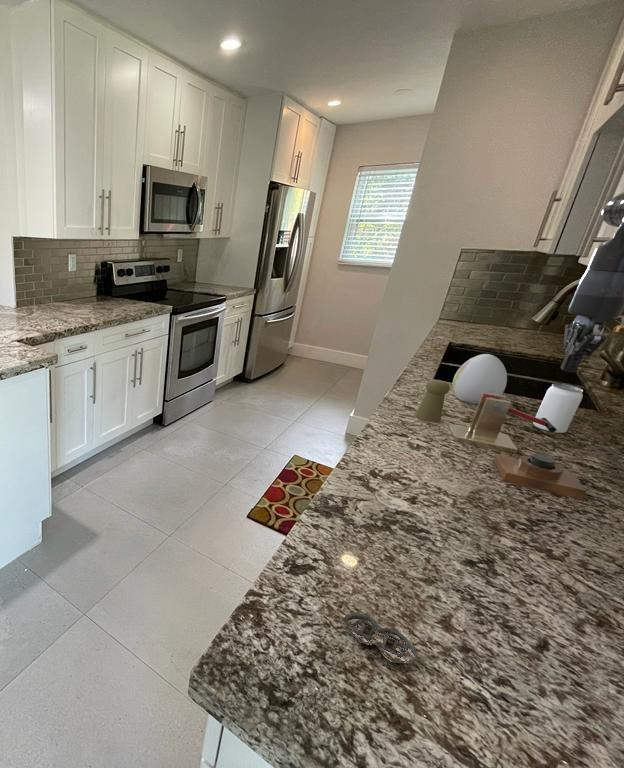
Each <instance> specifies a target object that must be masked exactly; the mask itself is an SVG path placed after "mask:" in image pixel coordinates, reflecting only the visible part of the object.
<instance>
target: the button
mask: <svg viewBox="0 0 624 768" xmlns="http://www.w3.org/2000/svg"><path fill="white" fill-rule="evenodd" d="M530 456H531V458H530V460H529V463H531V464H533V465H535V466H538V467H541V468H545V469H553V467H554V465H555V464H557V460H556V459H554V458H552V457H551V456H548V455H545V454H541V453H532V454H531V455H530Z"/></svg>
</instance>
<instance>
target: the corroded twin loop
mask: <svg viewBox="0 0 624 768" xmlns="http://www.w3.org/2000/svg"><path fill="white" fill-rule="evenodd" d="M352 619H361V620H357V621H356V622H355V623H353V624H352V625H354V626H356V625H357V628H358V627H359V626H358V624H359V625H360V626H362V630H358V629H357V628H356V627H354V629H353V631H354V632H355V633H356V634H357V635H360V636H363V637H364V638H365V639H366V640H367V641H368V640H369V641H370V640H371V638H372V637H371V636H372V635H373V634H375V632H374V628H373V626H375V628H376V630H377V631H378V632H379V633H385V632H386V633H387V632H388V633H391V634H394V635H397V636H398V637H399V638H400V640H399V639H398V638H396V637H394V636H393V635H390V634H385V635H384V636H382V637H383V643H382V648H383V649H384V650H386V651H388V652H391V653H392V654H395V655H397V657H400V658H401V657H403V656H404V654H402V653H400V652H399V651H397V650H396V648H397V646H400V647H401V648H404V651H403V649H401V650H402V651H403V652H406V650H408V648H409V649H410V650H411V652H412V653H413V654H414V659H411V660H409V661H407V662H409V663H407V662H406V663H407V664H412V663H416V662H417V661H418V658H419V655H418V653H417V651H416V649H415V647H414V646H413V644H412V643H411V642H410V641H409V639H408V638H407V637H406V636H405V635H404V634H402V633H401V632H399V630H396V629H395V628H390V627H380V625H379V624H378V622H377V621H376V619H374V618H373V617H372V616H369V615H368V614H366V613H360V612H351V613H349V614H347V615H346V614H345V617H344V623H345V626H346V629H347V630H348V631H349V633H350V632H351V630H350V628H349V625H348V622H347V621H348V620H352ZM363 620H365V621H367V622H368V621H369V622H371V624H372V625H373V626H372V625H371V624H369V623H367V622H365V621H363ZM366 625H368V626H370V627H371V628H372V629H371V628H370V627H369V628H370V631H369V634H366V633H364V629H365V627H366ZM368 626H367V627H368ZM350 634H351V636H352V635H353V636H354V637H355V638H356V639H357V640H359V641H360V642H362V643H363V644H369V645H370V644H374V645H375V646H377V647H378V645H377V642H375V643H369V642H363V641H361V640H360V639H358V638H357V637H356V636H355V634H353V633H352V632H351V633H350ZM376 635H377V634H376ZM353 636H352V637H353ZM378 636H379V634H378ZM380 636H381V635H380ZM388 636H389V637H391V638H393V639H395V640H397V641H398V642H397V641H395V642H394V641H393V644H392V646H393V647H392V648H393V649H394V650H393V649H391V648H390V647H388V646H386V643H387V641H388V638H387V637H388ZM354 637H353V638H354ZM355 638H354V639H355ZM373 639H374V638H373ZM375 640H376V639H375ZM403 640H404V641H403ZM399 641H401V642H402V643H403V644H401V643H399ZM404 642H405V644H404ZM380 643H381V642H380ZM377 647H376V648H377ZM378 649H379V650H380V648H379V647H378ZM378 649H377V650H378ZM405 649H406V650H405ZM380 651H381V650H380ZM396 651H397V652H398V653H400V654H398V653H396ZM381 652H382V653H383V651H381ZM383 654H384V653H383ZM384 655H385V654H384ZM385 656H386V655H385ZM386 657H387V656H386ZM387 658H388V659H390V658H389V657H387ZM390 660H391V661H393V662H398V663H402V662H403V663H404V662H405V661H394V660H392V659H390Z"/></svg>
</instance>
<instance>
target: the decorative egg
mask: <svg viewBox="0 0 624 768" xmlns="http://www.w3.org/2000/svg"><path fill="white" fill-rule="evenodd" d="M507 383H508V375H507V369H506V367H505V365H504V363H503V362H502V361H501V359H499V358H498V357H497V356H495V355H493V354H490V353H483V354H478V355H476V356H474V357H471V358H469V359H468V360H466V361H465V362H464V363H463V364H462V365H461V366H460V367H459V368H458V369H457V370H456V373H455V374H454V375H453V379H452V392H453V394H454V396H455V397H456V399H458V400H460V401H462V402H464V403H468V404H472V405H477V406H478V403H479V401H480V398H481V395H482V393H483V392H485V393H491V394H497V395H503V394H504V392H505V389H506V388H507Z"/></svg>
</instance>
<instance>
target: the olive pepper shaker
mask: <svg viewBox="0 0 624 768" xmlns="http://www.w3.org/2000/svg"><path fill="white" fill-rule="evenodd" d="M450 386H451V385H450V384H449V383H448V382H446V381H444V380H439V379H429V380H428V381H427V383H426V384H425V390H426V391H425V394H424V395H423V397H422V400H421V401H420V404H419V405H418V407H417V409H416V411H415V413H414V416H415V417H416V418H418V419H420V420H421V421H426V422H430V423H440V422H441V421H442V415H443V409H444V404H445V403H444V402H445V397H446V395H447V394H448V393H449V392H450V390H451V387H450Z"/></svg>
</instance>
